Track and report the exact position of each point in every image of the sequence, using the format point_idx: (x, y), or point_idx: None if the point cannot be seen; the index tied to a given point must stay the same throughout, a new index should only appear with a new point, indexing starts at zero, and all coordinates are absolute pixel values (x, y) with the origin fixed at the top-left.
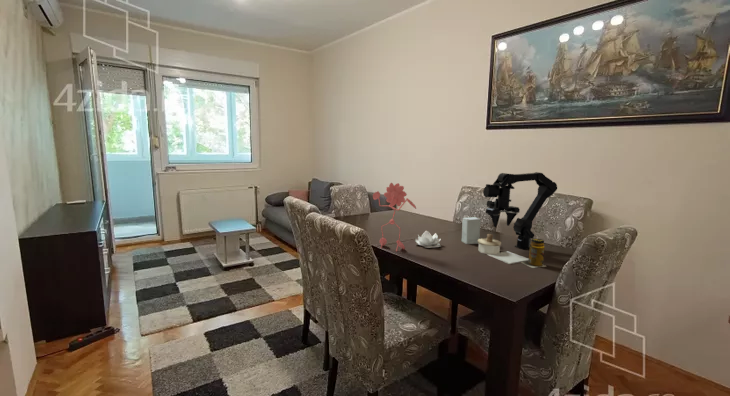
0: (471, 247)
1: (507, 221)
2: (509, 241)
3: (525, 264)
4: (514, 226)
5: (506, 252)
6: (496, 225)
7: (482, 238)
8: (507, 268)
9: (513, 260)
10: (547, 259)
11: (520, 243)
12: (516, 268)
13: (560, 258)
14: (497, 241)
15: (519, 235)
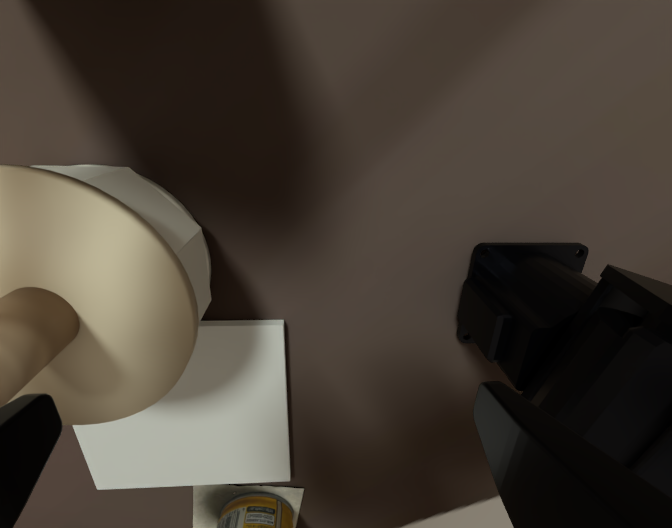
0: (4, 42)
1: (545, 477)
2: (663, 38)
3: (197, 505)
4: (641, 376)
5: (246, 344)
6: (24, 484)
7: (8, 170)
8: (43, 515)
9: (158, 468)
10: (406, 483)
11: (474, 334)
12: (98, 524)
13: (491, 490)
14: (146, 352)
15: (568, 332)
